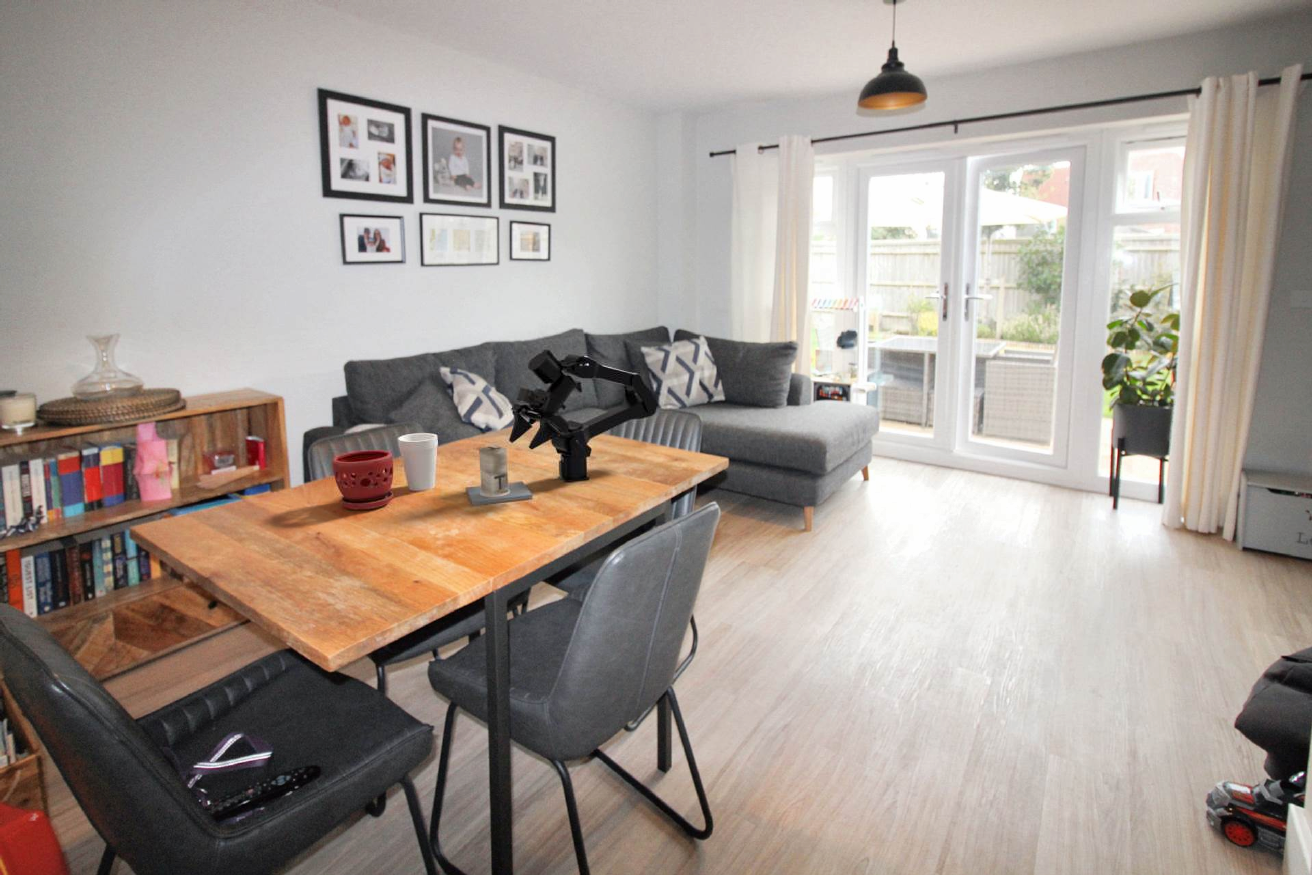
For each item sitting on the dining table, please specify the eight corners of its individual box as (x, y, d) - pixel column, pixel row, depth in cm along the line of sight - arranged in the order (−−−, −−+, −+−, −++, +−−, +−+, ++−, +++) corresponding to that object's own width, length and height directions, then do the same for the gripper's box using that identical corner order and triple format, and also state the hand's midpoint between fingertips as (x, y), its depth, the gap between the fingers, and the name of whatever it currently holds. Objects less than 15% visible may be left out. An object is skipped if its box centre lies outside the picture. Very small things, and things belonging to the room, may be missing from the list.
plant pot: (408, 498, 180) (403, 450, 177) (371, 515, 168) (365, 464, 165) (363, 493, 184) (359, 446, 181) (324, 509, 172) (318, 459, 169)
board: (522, 484, 190) (522, 480, 190) (532, 498, 179) (532, 494, 179) (466, 491, 185) (465, 487, 185) (473, 505, 174) (472, 501, 174)
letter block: (497, 488, 184) (495, 444, 181) (508, 492, 180) (506, 447, 178) (481, 492, 180) (478, 448, 178) (492, 496, 177) (490, 451, 175)
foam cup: (429, 493, 183) (425, 442, 180) (395, 491, 185) (390, 440, 182) (447, 482, 192) (443, 433, 189) (414, 480, 194) (410, 432, 191)
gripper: (515, 371, 189) (479, 419, 185) (557, 379, 176) (518, 432, 171) (543, 398, 196) (508, 445, 192) (585, 408, 182) (548, 459, 178)
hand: (520, 445), depth 183 cm, fingers open, 9 cm apart
